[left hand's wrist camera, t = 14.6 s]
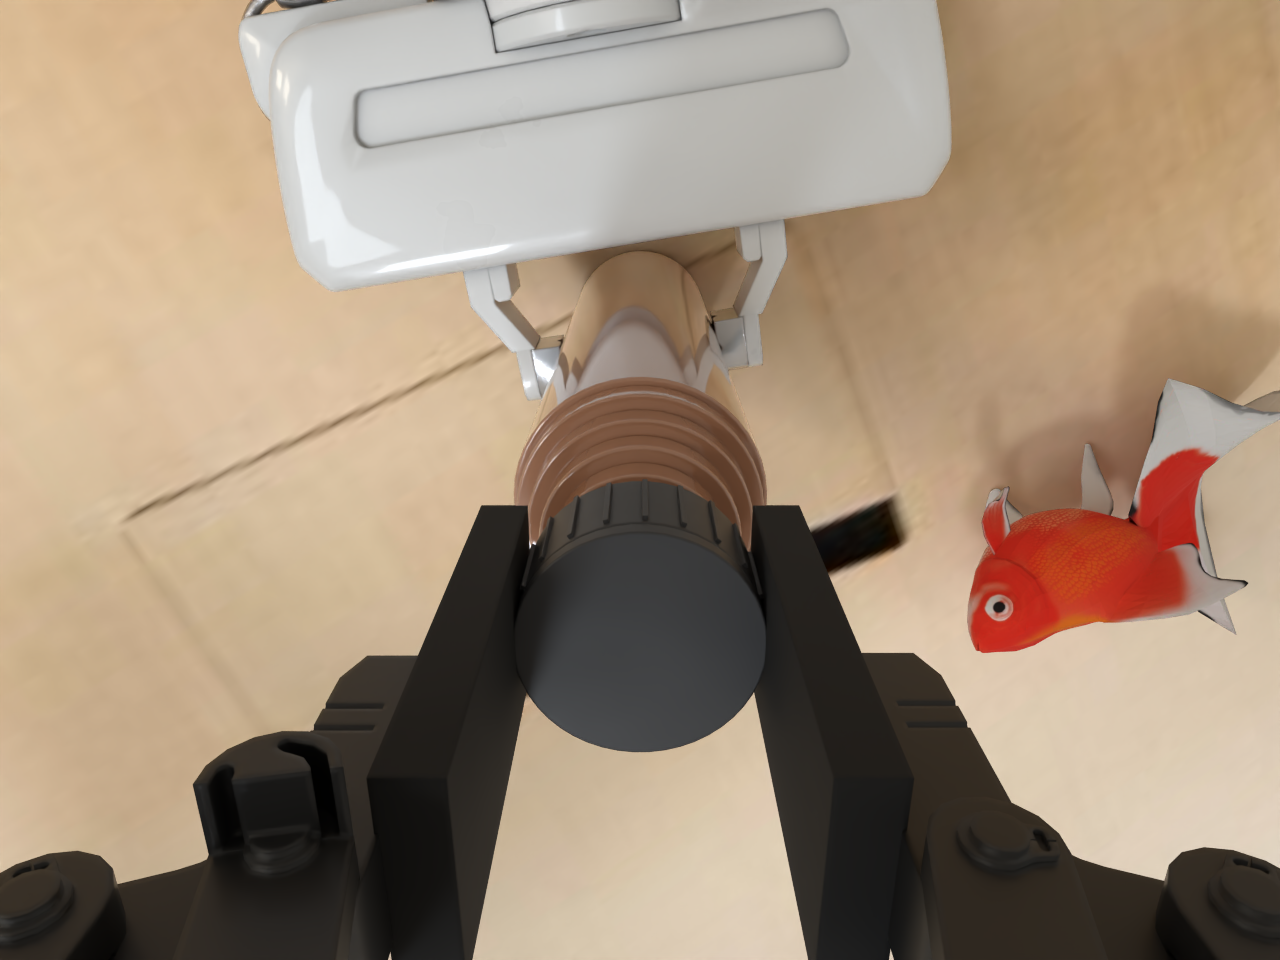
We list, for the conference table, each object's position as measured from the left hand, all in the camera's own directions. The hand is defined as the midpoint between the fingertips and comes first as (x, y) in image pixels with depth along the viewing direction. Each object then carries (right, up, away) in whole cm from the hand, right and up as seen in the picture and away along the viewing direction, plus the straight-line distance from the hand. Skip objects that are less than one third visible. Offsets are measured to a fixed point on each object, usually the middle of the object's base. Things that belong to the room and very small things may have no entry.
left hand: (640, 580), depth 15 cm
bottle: (0, +8, +21) cm, 23 cm away
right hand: (0, +5, +15) cm, 16 cm away
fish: (+19, +2, +24) cm, 31 cm away
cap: (0, -1, -2) cm, 2 cm away
